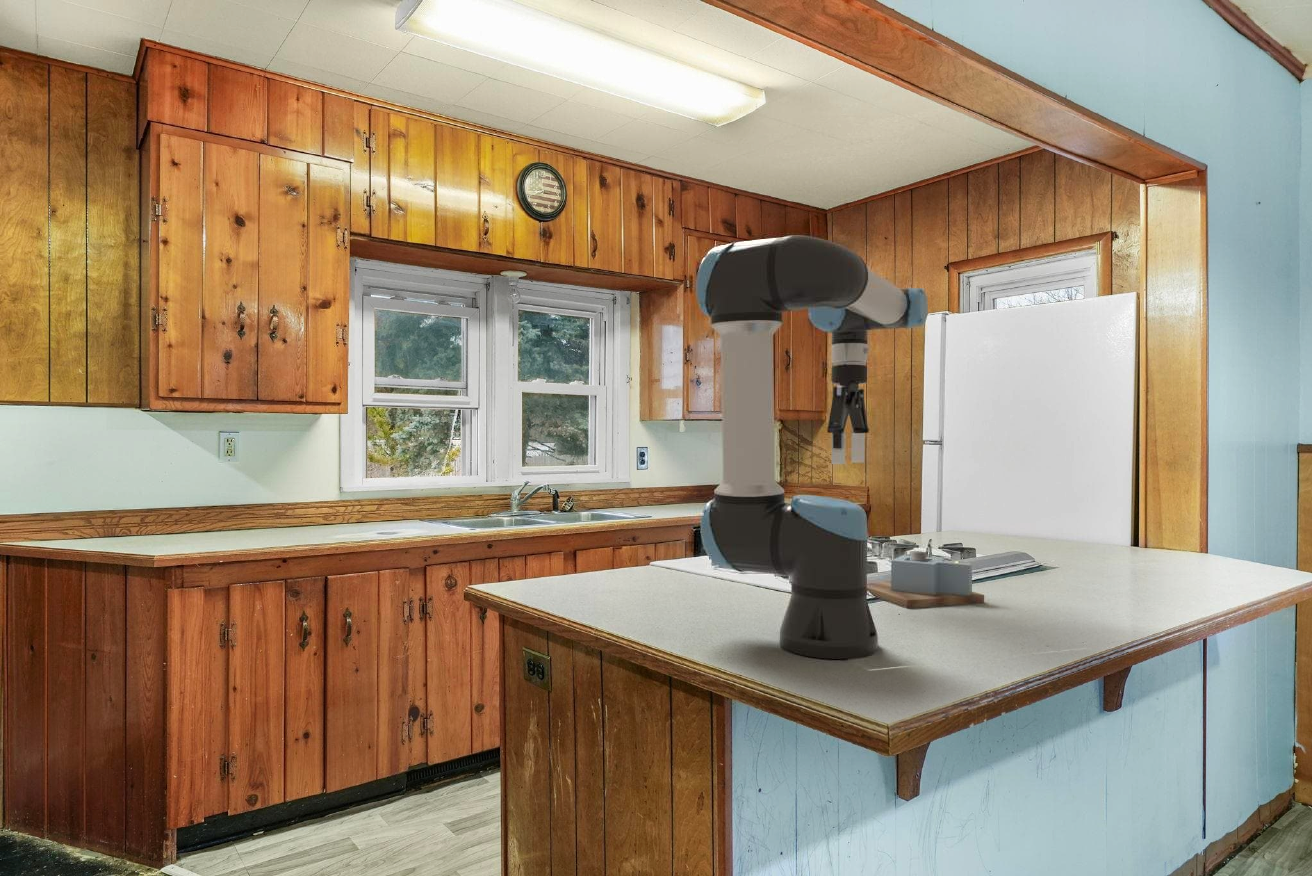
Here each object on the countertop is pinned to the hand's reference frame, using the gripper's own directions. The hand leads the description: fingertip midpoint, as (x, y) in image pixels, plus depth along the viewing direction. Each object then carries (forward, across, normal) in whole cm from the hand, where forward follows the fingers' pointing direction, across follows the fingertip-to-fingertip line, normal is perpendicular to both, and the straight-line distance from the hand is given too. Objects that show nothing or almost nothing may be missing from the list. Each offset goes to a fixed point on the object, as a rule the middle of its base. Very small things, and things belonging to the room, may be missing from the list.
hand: (848, 463), depth 173 cm
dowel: (+25, +1, -23) cm, 34 cm away
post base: (+27, -1, -15) cm, 31 cm away
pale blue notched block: (+25, -1, -18) cm, 31 cm away
